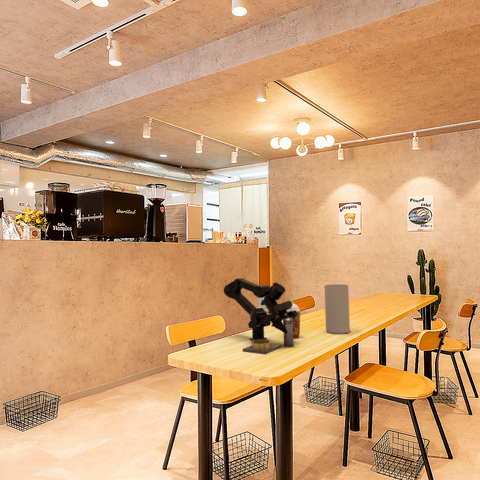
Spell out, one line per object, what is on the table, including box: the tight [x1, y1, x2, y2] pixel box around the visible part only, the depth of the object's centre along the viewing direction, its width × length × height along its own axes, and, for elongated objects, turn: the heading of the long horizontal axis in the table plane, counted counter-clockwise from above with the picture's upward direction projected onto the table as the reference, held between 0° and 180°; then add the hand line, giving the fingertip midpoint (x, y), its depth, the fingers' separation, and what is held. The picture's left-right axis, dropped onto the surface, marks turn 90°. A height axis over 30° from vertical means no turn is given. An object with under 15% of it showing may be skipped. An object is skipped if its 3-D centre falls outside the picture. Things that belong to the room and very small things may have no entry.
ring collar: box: [242, 339, 282, 355], centre depth 186 cm, size 14×12×4 cm
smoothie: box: [285, 297, 301, 339], centre depth 210 cm, size 8×8×20 cm
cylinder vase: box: [324, 284, 351, 335], centre depth 220 cm, size 12×12×25 cm
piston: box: [282, 317, 294, 348], centre depth 191 cm, size 5×5×13 cm
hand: (290, 332), depth 190 cm, fingers closed on piston, 4 cm apart
